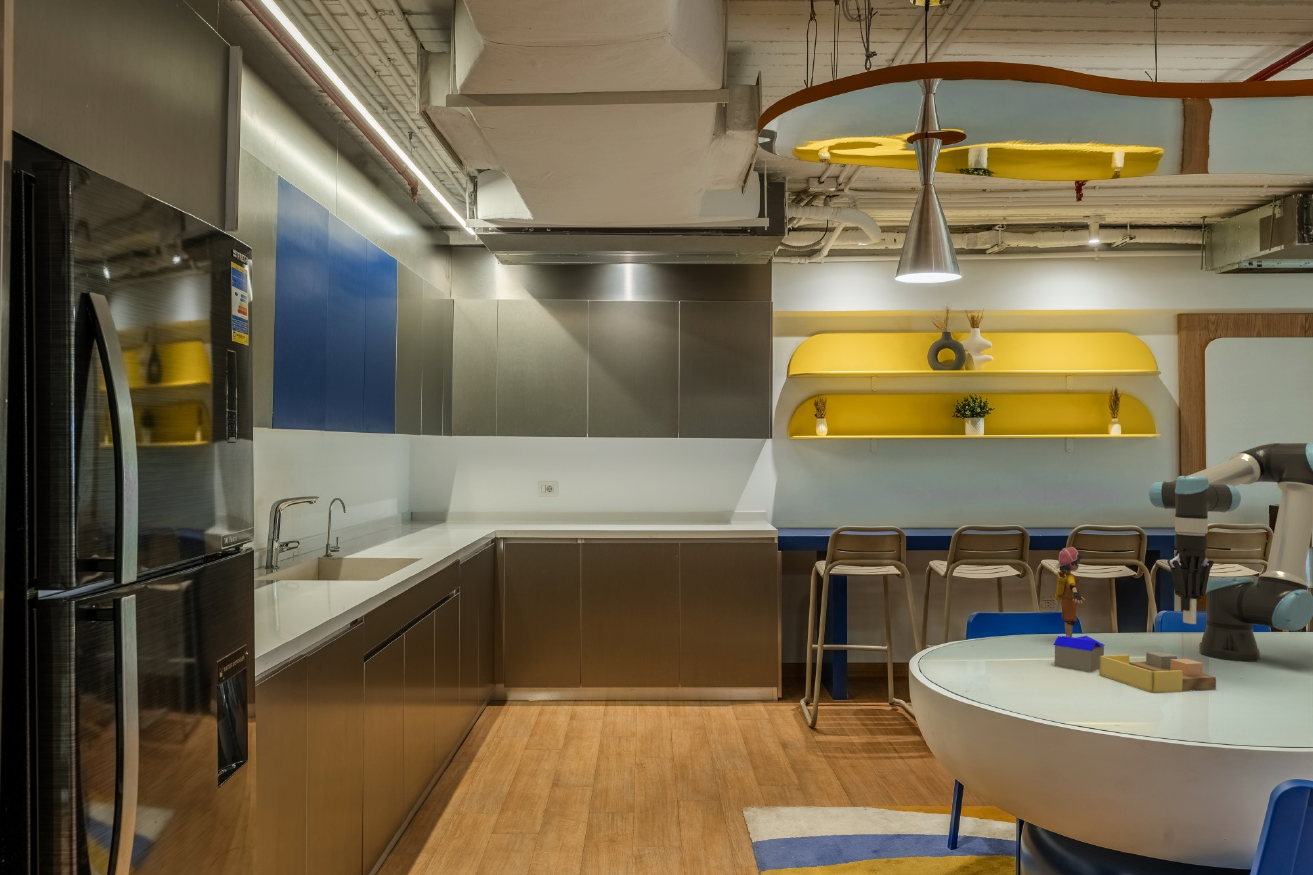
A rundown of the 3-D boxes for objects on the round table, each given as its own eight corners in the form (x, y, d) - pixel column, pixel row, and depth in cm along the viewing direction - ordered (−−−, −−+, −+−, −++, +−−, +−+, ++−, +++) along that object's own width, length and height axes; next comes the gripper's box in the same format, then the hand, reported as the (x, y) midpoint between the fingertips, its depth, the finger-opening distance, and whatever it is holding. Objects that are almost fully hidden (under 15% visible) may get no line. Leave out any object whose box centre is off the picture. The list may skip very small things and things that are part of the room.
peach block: (1186, 670, 232) (1186, 658, 232) (1202, 675, 227) (1202, 663, 227) (1170, 671, 230) (1170, 659, 230) (1186, 675, 226) (1186, 663, 226)
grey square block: (1161, 663, 239) (1162, 651, 239) (1177, 667, 235) (1177, 656, 235) (1146, 663, 238) (1146, 652, 238) (1161, 668, 233) (1161, 656, 233)
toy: (1090, 653, 265) (1091, 551, 265) (1064, 651, 266) (1065, 550, 267) (1070, 637, 288) (1071, 543, 289) (1045, 635, 289) (1047, 542, 290)
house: (1065, 660, 255) (1065, 632, 255) (1105, 667, 247) (1105, 638, 247) (1050, 666, 247) (1051, 637, 247) (1091, 673, 240) (1091, 643, 240)
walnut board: (1159, 672, 242) (1159, 660, 242) (1215, 689, 225) (1215, 677, 225) (1127, 673, 240) (1128, 662, 240) (1182, 691, 222) (1182, 678, 222)
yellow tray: (1127, 673, 240) (1127, 654, 240) (1182, 691, 222) (1182, 670, 222) (1099, 674, 237) (1099, 655, 238) (1152, 692, 220) (1152, 672, 220)
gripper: (1199, 532, 244) (1197, 620, 244) (1159, 532, 241) (1157, 620, 241) (1223, 535, 237) (1221, 625, 237) (1182, 535, 234) (1180, 626, 233)
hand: (1189, 622), depth 239 cm, fingers closed
